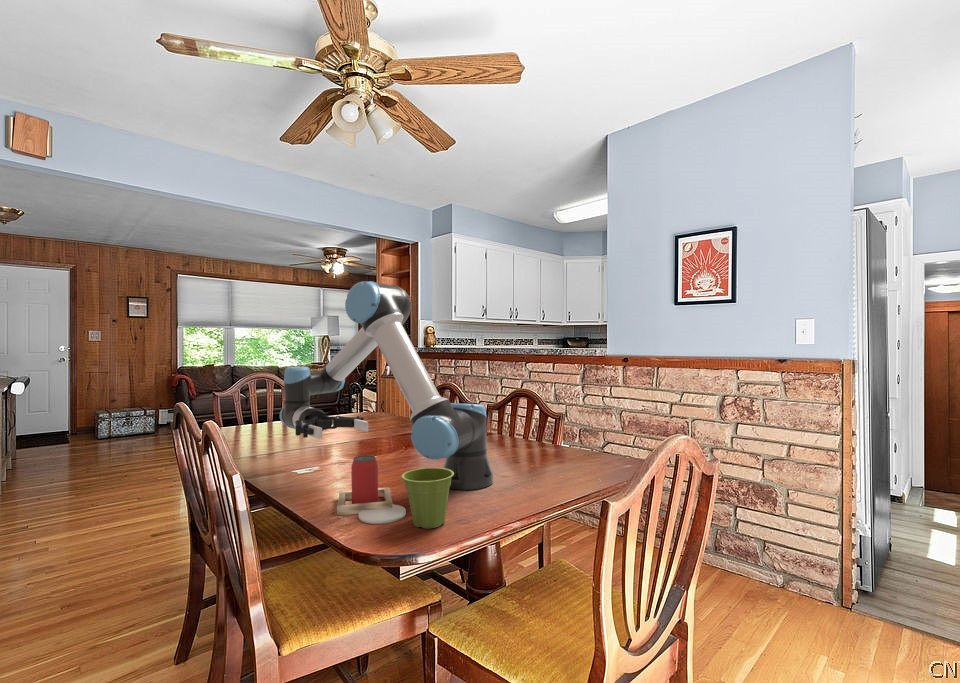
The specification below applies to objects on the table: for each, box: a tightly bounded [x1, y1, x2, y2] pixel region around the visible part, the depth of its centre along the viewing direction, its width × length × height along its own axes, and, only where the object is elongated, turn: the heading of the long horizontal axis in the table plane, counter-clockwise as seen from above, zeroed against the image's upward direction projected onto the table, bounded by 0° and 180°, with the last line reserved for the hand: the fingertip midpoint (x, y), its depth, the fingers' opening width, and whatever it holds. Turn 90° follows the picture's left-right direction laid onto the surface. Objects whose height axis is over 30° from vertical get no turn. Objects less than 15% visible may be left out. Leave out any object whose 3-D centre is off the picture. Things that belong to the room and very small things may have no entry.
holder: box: [336, 487, 393, 517], centre depth 125 cm, size 13×13×2 cm
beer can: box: [350, 454, 379, 504], centre depth 125 cm, size 7×7×12 cm
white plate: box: [358, 503, 407, 525], centre depth 117 cm, size 11×11×1 cm
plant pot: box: [401, 467, 454, 530], centre depth 111 cm, size 12×12×11 cm
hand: (344, 429), depth 132 cm, fingers open, 13 cm apart
